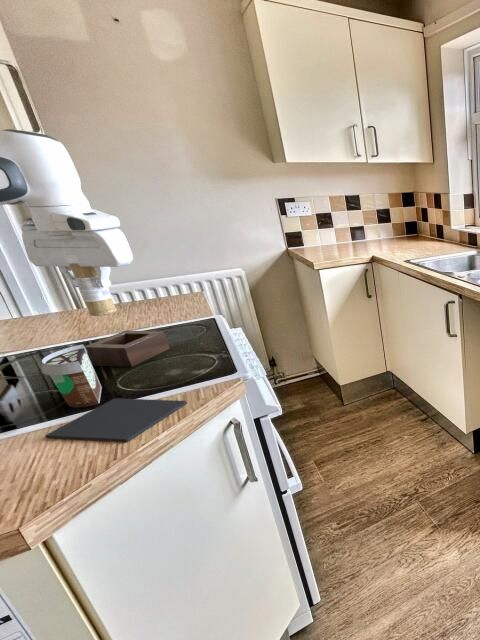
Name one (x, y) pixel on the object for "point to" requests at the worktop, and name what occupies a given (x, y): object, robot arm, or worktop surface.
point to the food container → (73, 376)
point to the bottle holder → (127, 348)
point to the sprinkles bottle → (91, 289)
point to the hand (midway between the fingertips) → (92, 286)
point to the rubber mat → (117, 420)
